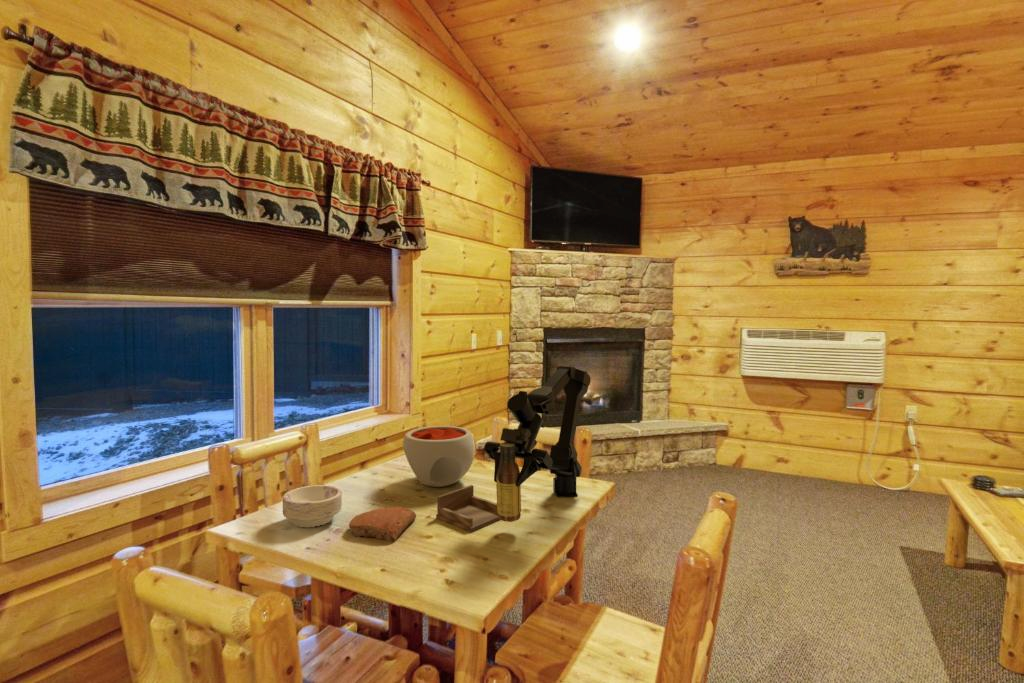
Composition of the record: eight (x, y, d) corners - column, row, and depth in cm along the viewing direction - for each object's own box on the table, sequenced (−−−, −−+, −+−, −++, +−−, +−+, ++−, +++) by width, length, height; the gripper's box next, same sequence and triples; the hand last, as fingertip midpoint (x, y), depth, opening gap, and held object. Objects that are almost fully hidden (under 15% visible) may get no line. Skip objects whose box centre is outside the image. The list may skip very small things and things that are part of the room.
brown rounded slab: (369, 497, 151) (418, 509, 149) (365, 520, 151) (414, 532, 148) (343, 510, 137) (397, 523, 134) (338, 535, 137) (393, 549, 134)
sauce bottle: (507, 511, 145) (506, 438, 143) (526, 517, 141) (525, 442, 139) (491, 519, 140) (491, 444, 138) (510, 525, 136) (510, 448, 134)
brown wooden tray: (507, 516, 151) (507, 495, 150) (471, 532, 140) (471, 509, 140) (472, 504, 160) (472, 484, 160) (436, 518, 150) (435, 496, 149)
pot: (488, 477, 185) (487, 426, 183) (449, 500, 163) (448, 442, 162) (430, 468, 195) (430, 419, 194) (386, 488, 174) (386, 433, 173)
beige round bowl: (353, 514, 152) (352, 486, 152) (318, 536, 138) (318, 506, 137) (308, 508, 157) (307, 481, 157) (270, 528, 143) (269, 499, 142)
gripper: (486, 412, 146) (463, 462, 138) (547, 419, 137) (526, 474, 128) (502, 434, 154) (480, 483, 145) (561, 442, 144) (541, 496, 136)
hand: (505, 483), depth 138 cm, fingers closed on sauce bottle, 6 cm apart
